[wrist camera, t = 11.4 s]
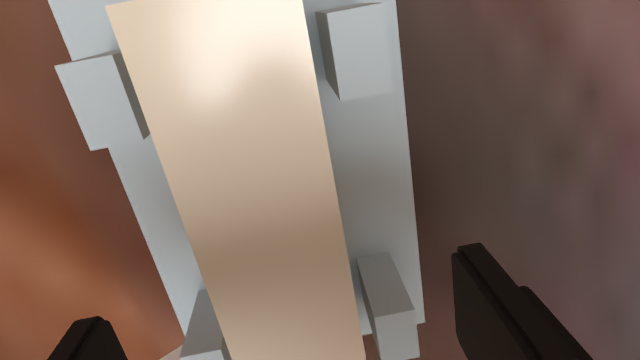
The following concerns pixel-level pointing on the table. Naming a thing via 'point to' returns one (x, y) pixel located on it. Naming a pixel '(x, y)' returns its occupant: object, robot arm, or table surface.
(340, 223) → the clay bar
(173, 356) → the white router
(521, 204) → the table surface
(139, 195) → the rack
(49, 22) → the table surface
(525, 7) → the table surface
